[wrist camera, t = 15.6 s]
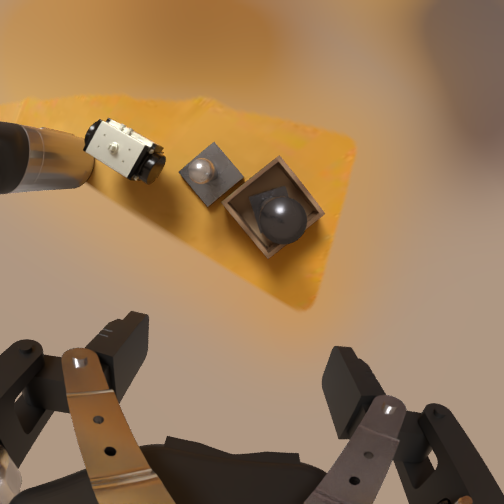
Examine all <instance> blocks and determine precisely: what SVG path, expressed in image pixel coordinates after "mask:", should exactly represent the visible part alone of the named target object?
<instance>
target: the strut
mask: <svg viewBox="0 0 504 504" xmlns="http://www.w3.org/2000/svg"><path fill="white" fill-rule="evenodd" d="M249 200H250V203H251V206H252V209H253V212H254V215H255V218H256V221H257V225H258V228H259V231H260V233H263V234H264V235H265V236H266V237H267V238H268V239H269V240H270V241H272V242H274V243H277V244H290V243H292V242H295V241H296V240H298V239H299V238H300V237H301V236H302V235H303V233H304V231H305V229H306V226H307V215H306V212H305V210H304V208H303V206H302V205H301V204H300V203H299V202H298V201H296V200H294V199H292V198H289V196H288V193H287V190H286V187H285V186H281V187H278V188H274V189H271V190H268V191H265V192H262V193H259V194H255V195H252V196H249Z"/></svg>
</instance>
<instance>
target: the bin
mask: <svg viewBox="0 0 504 504" xmlns="http://www.w3.org/2000/svg"><path fill="white" fill-rule="evenodd" d="M281 186H285V187H286V190H287V193H288V196H289V198H292V199H294V200H296V201H298V202H299V203H300V204H301V205H302V206H303V208H304V210H305V212H306V215H307V226H306V229H307V228H308V227H309V226H311V225H312V224H313V223H314V222H316V221H317V220H318V219H319V218H321V217H322V216H323V215H324V214H325V213H324V211H323V210H322V209H321V207H320V206H319V205H318V203H317V202H316V201H315V199H314V198H313V197H312V196H311V194H310V193H309V192H308V190H307V189H306V188H305V186H304V185H303V184H302V183H301V181H300V180H299V179H298V178H297V176H296V175H295V174H294V173H293V171H292V170H291V169H290V168H289V166H288V165H287V164H286V163H285V161H284V160H283V159H282V158H281V157H280V155H279V156H278V157H276V158H275V159H274V160H273V161H271V162H270V163H269V164H268V165H266V166H265V167H264V168H262V169H261V170H260V171H259V172H257V173H256V174H255V175H254V176H252V177H251V178H250V179H249V180H247V181H246V182H245V183H244V184H243V185H241V186H240V187H239V188H238V189H236V190H235V191H234V192H233V193H232V194H230V195H229V196H228V197H227V198H225V199H224V200H223V201H222V202H221V203H222V204H223V205H224V207H225V208H226V209H227V210H228V211H229V213H230V214H231V215H232V216H233V217H234V219H235V220H236V221H237V222H238V223H239V225H240V226H241V227H242V228H243V229H244V231H245V232H246V233H247V234H248V236H249V237H250V238H251V239H252V240H253V242H254V243H255V244H256V245H257V246H258V248H259V249H260V250H261V251H262V252H263V254H264V255H265V256H266V257H267V258H268V259H269V258H270V257H271V256H273V255H274V254H275V253H277V252H278V251H279V250H280V249H282V248H283V247H284V246H285V245H287V244H277V243H274V242H272V241H270V240H269V239H268V238H267V237H266V236H265V235H264V234H263V233H260V231H259V228H258V225H257V221H256V218H255V215H254V212H253V209H252V206H251V203H250V200H249V196H252V195H255V194H259V193H262V192H265V191H268V190H271V189H274V188H278V187H281ZM306 229H305V230H306Z"/></svg>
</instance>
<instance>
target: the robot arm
mask: <svg viewBox="0 0 504 504" xmlns="http://www.w3.org/2000/svg"><path fill="white" fill-rule="evenodd" d="M84 140H85V139H83V138H79V137H75V136H74V135H73V134H70V133H66V132H62V131H58V130H53V129H49V128H45V127H42V128H40V129H39V128H35V127H29V126H24V125H19V124H14V123H7V122H0V194H7V193H18V192H27V191H41V190H56V189H72V188H77V187H80V186H81V185H83V184H84V183H85V182H86V181H87V179H88V178H89V177H90V174H91V172H92V169H93V166H94V157H93V156H91V155H90V154H88V153H86V152H85V151H83V148H84V146H85V143H84ZM148 330H149V316H148V315H147V314H143V313H138V312H134V311H131V312H130V313H129V314H128V315H127V316H126V317H125V318H124V319H123V320H121V319H117V320H114V321H112V322H109V323H108V324H107V325H106V326H105V327H104V328H103V330H101V331H100V332H99V334H98V335H97V336H96V337H95V338H94V339H93V340H92V341H91V342H90V343H89V344H88V345H87V346H86V347H85V348H73V349H69V350H67V351H66V352H64V353H63V355H62V357H56V356H49V355H44V354H43V349H42V346H41V345H40V344H39V343H38V342H36V341H34V340H28V339H26V340H20V341H17V342H15V343H13V344H12V345H11V346H10V347H9V348H8V349H6V351H4V352H3V353H2V354H1V355H0V504H373V502H374V500H375V498H376V496H377V494H378V491H379V490H380V488H381V485H382V483H383V481H384V479H385V477H386V474H387V472H388V470H389V467H390V465H391V462H392V460H394V463H395V466H396V469H397V471H398V474H399V476H400V479H401V482H402V485H403V488H404V490H405V493H406V496H407V499H408V502H409V504H504V495H503V493H502V491H501V490H500V488H499V486H498V484H497V483H496V481H495V479H494V477H493V476H492V474H491V472H490V471H489V469H488V468H487V466H486V464H485V463H484V461H483V459H482V458H481V456H480V455H479V453H478V452H477V450H476V448H475V447H474V445H473V444H472V442H471V441H470V439H469V438H468V436H467V435H466V433H465V431H464V430H463V428H462V427H461V426H460V424H459V423H458V421H457V420H456V418H455V417H454V415H453V414H452V412H451V411H450V410H449V409H447V408H446V407H445V406H443V405H440V404H435V403H432V404H428V405H427V406H426V407H425V409H424V410H423V412H422V413H418V412H411V411H406V406H405V405H404V403H403V402H402V401H401V400H399V399H397V398H395V397H393V396H389V395H386V394H385V392H384V390H383V389H382V387H381V385H380V384H379V382H378V380H377V379H376V377H375V375H374V374H373V373H372V370H371V369H370V367H369V366H368V365H367V364H366V363H365V362H364V361H363V360H361V359H358V358H357V356H356V354H355V353H354V351H353V349H352V348H351V347H341V346H334V348H333V349H332V352H331V354H330V357H329V360H328V363H327V365H326V369H325V371H324V374H323V377H322V389H323V392H324V395H325V398H326V401H327V404H328V407H329V410H330V413H331V416H332V420H333V423H334V426H335V429H336V432H337V435H338V439H350V440H349V442H348V443H347V445H346V447H345V448H344V450H343V451H342V453H341V454H340V456H339V457H338V459H337V460H336V461H335V463H334V464H333V466H332V467H331V469H330V470H329V471H328V473H326V472H324V471H323V470H321V469H319V468H316V467H313V466H312V465H309V464H305V463H302V462H300V459H299V454H298V453H280V452H260V453H250V454H230V453H227V452H223V451H221V450H218V449H215V448H212V447H209V446H206V445H204V444H201V443H197V442H193V441H188V440H183V439H178V438H174V437H170V436H167V438H166V441H165V444H151V445H144V446H138V444H137V442H136V440H135V438H134V436H133V434H132V431H131V429H130V427H129V425H128V423H127V421H126V418H125V416H124V414H123V412H122V410H121V407H120V405H119V403H120V401H121V400H122V398H123V396H124V394H125V393H126V391H127V389H128V387H129V386H130V384H131V382H132V381H133V379H134V377H135V375H136V374H137V372H138V370H139V368H140V367H141V365H142V363H143V362H144V360H145V358H146V355H147V351H148ZM21 391H22V395H21V396H20V397H19V398H18V400H17V401H16V402H15V399H16V398H17V396H18V395H19V394H20V393H21ZM54 411H59V412H64V413H70V414H71V419H72V422H73V427H74V431H75V434H76V438H77V442H78V445H79V449H80V452H81V455H82V458H83V461H84V464H85V467H86V469H84V470H81V471H78V472H76V473H74V474H71V475H68V476H65V477H63V478H60V479H57V480H54V481H51V482H48V483H45V484H42V485H39V486H36V487H32V488H29V489H26V490H24V491H22V492H20V487H21V484H22V477H21V474H20V472H19V470H18V468H19V467H20V465H21V463H22V462H23V460H24V458H25V456H26V454H27V453H28V451H29V450H30V448H31V446H32V445H33V443H34V442H35V440H36V439H37V437H38V435H39V434H40V432H41V430H42V429H43V428H44V426H45V424H46V423H47V421H48V420H49V418H50V417H51V415H52V414H53V412H54ZM432 450H433V451H434V453H435V455H436V457H437V460H438V465H437V468H436V470H434V468H433V466H432V464H431V462H430V460H429V458H428V455H429V453H430V452H431V451H432Z"/></svg>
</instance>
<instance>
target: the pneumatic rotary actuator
mask: <svg viewBox="0 0 504 504" xmlns="http://www.w3.org/2000/svg"><path fill="white" fill-rule="evenodd" d="M84 143H85V146H84V148H83V151H85V152H86V153H88V154H90V155H91V156H93V157H94V158H96V159H97V160H99V161H101V162H102V163H104V164H105V165H107V166H109V167H110V168H112V169H113V170H115V171H117V172H118V173H120V174H121V175H123V176H124V177H126V178H128V179H129V180H134V181H143V182H144V183H146V184H148V185H149V184H151V183H152V182H154V181H155V179H156V178H157V177H158V176H159V174H160V173H161V171H162V169H163V167H164V165H165V162H166V157H165V156H164V155H163V153H164V152H162V150H163V147H161V146H160V145H158V144H156V143H154V142H153V141H151V140H149V139H147V138H146V137H144V136H142V135H140V134H138V133H137V132H135V131H134V130H133V129H131V128H128V127H126V125H124V124H120V123H119V122H117V121H114V120H112V119H110V118H108V119H107V121H103V120H101V119H99V120H98V121H97V122H95V123H94V124H93V125H92V126H91V127H90V128H89V129H88V131H87V133H86V136H85V140H84Z"/></svg>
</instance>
